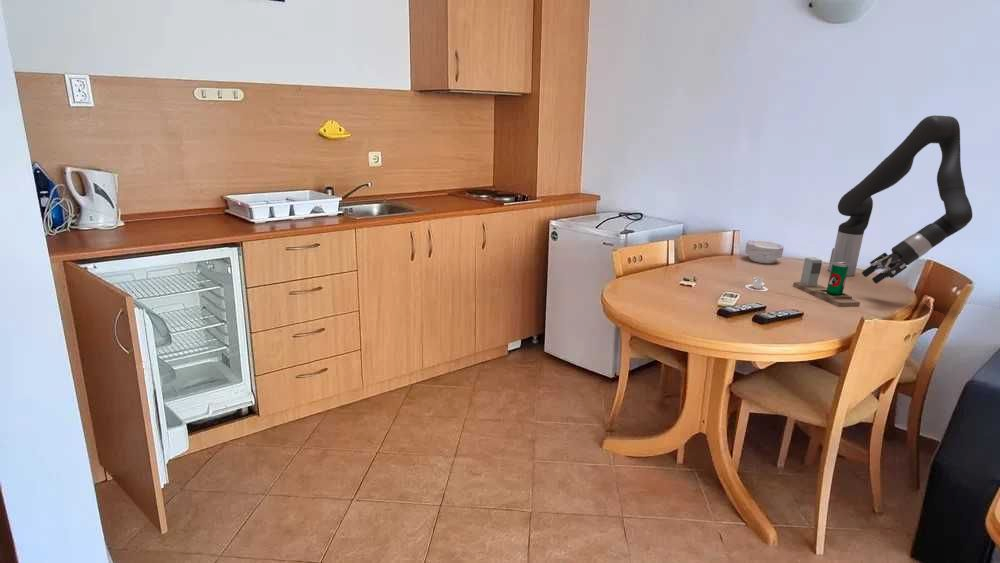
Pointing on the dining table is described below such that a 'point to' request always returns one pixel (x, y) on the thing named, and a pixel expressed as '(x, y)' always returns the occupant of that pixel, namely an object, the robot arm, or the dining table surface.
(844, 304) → the brown flat tray
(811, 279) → the grey post
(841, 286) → the soda can
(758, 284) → the teacup and saucer
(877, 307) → the dining table surface
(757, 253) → the paper bowls
